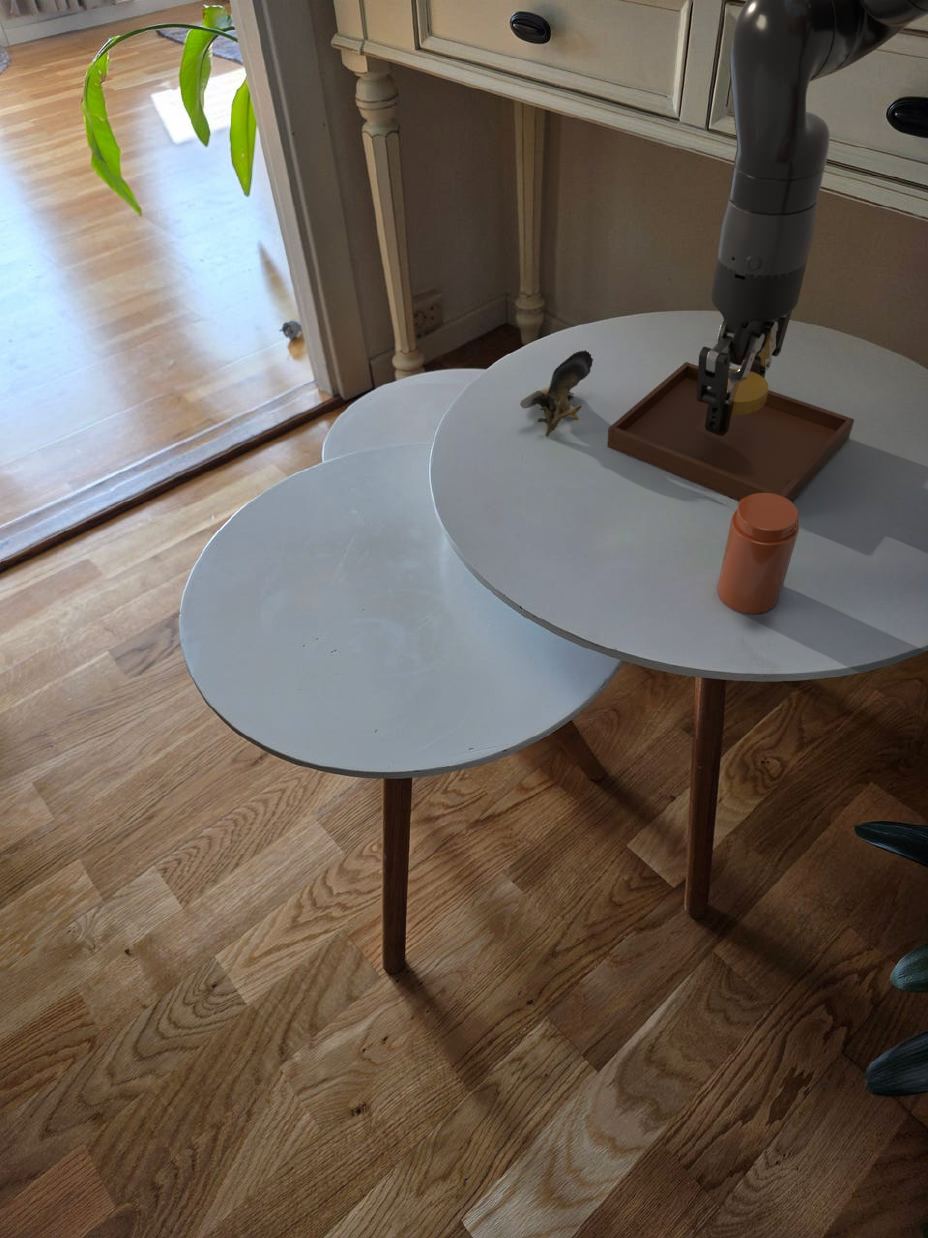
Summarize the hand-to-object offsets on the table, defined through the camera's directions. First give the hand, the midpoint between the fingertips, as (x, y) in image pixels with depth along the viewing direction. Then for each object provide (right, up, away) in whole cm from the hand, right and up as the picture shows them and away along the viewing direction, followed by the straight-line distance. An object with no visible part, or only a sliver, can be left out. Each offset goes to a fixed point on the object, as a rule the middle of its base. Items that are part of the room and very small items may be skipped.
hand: (731, 415), depth 87 cm
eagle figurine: (-17, +2, +8) cm, 18 cm away
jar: (-2, -18, -12) cm, 22 cm away
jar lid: (0, +2, -2) cm, 3 cm away
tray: (0, -2, +2) cm, 3 cm away
